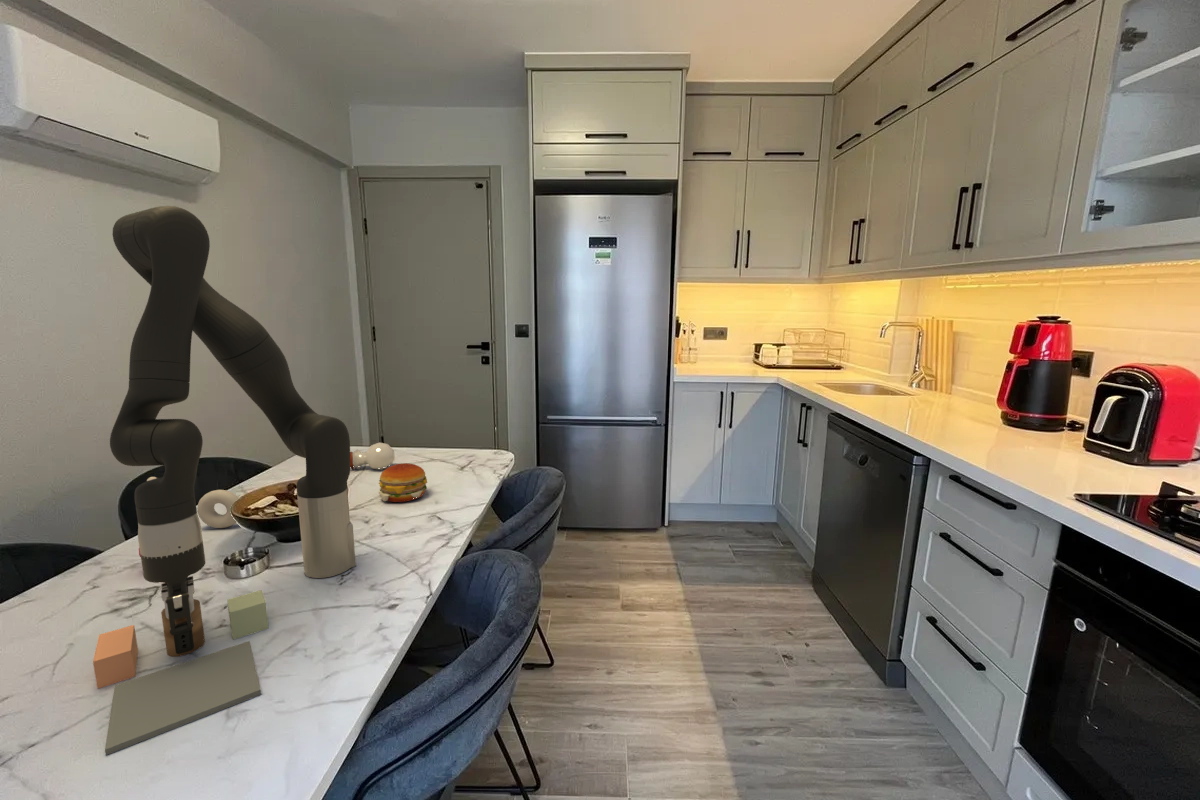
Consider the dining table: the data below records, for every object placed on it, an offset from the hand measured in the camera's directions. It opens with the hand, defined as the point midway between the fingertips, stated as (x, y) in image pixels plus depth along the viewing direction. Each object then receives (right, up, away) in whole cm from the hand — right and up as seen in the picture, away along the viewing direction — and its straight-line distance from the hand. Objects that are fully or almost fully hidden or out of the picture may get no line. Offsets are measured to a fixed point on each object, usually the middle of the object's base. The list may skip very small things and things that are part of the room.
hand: (184, 637), depth 82 cm
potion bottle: (-12, +14, +94) cm, 96 cm away
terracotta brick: (-6, -3, -5) cm, 8 cm away
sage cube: (+7, -1, +6) cm, 9 cm away
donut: (-28, +6, +45) cm, 54 cm away
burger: (+9, +9, +68) cm, 69 cm away
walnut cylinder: (0, -2, 0) cm, 2 cm away
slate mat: (+8, -3, -10) cm, 13 cm away
